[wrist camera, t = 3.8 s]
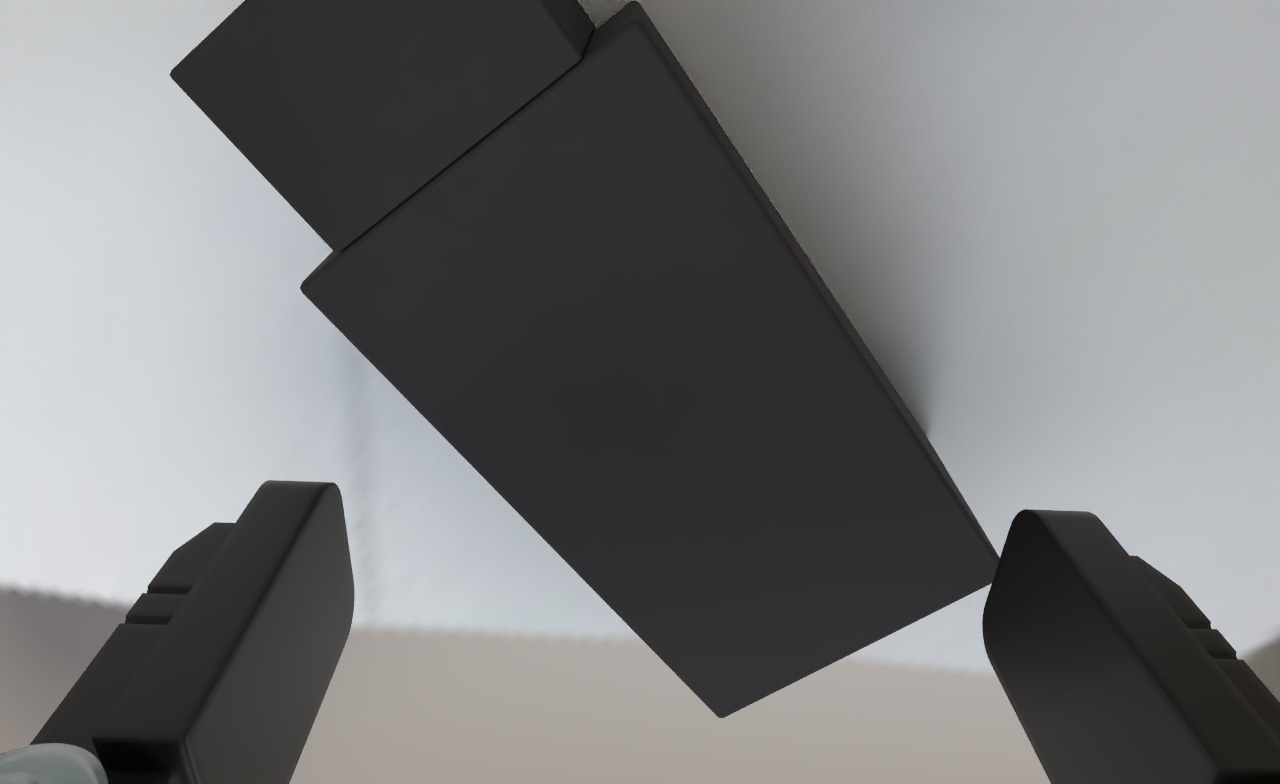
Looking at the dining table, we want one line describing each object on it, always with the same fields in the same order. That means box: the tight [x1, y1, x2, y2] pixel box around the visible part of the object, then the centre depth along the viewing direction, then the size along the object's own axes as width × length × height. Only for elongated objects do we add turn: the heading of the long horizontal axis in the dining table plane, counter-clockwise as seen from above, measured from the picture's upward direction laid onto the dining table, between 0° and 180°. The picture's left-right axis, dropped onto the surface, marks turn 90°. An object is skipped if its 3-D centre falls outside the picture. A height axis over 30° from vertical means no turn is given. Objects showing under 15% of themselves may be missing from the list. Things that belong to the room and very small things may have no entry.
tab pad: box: [170, 0, 1000, 718], centre depth 13 cm, size 6×13×4 cm, turn 36°
